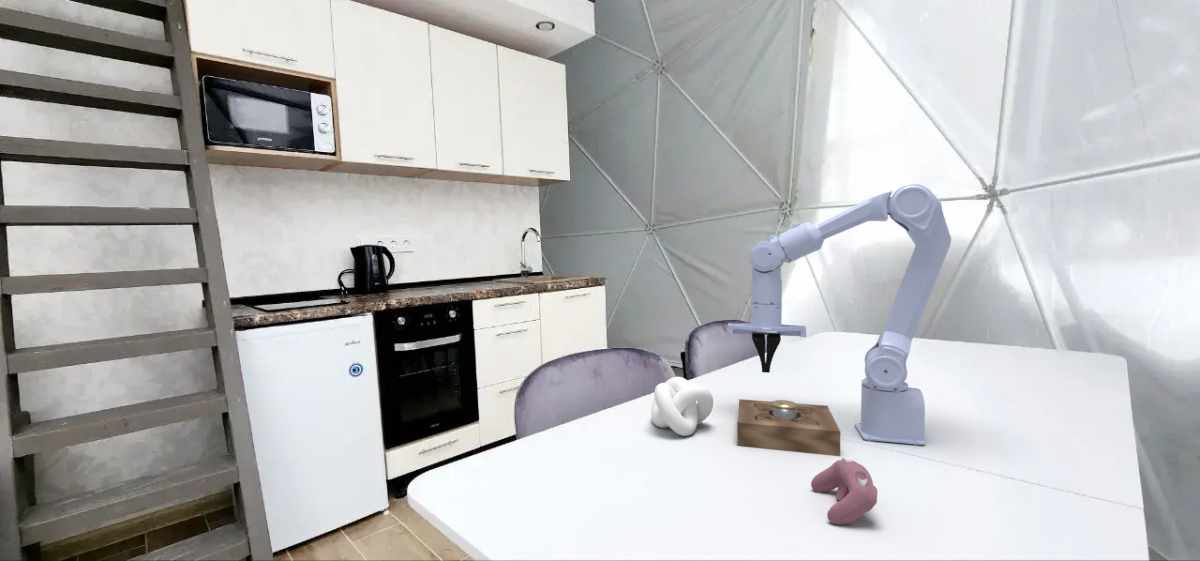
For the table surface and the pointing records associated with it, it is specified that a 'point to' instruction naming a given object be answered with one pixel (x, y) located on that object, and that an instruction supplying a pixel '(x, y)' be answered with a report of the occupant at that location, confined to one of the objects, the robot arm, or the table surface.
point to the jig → (788, 428)
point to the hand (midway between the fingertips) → (765, 371)
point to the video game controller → (847, 490)
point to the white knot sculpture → (681, 405)
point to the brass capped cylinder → (784, 409)
